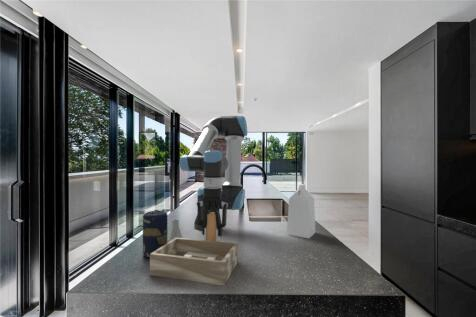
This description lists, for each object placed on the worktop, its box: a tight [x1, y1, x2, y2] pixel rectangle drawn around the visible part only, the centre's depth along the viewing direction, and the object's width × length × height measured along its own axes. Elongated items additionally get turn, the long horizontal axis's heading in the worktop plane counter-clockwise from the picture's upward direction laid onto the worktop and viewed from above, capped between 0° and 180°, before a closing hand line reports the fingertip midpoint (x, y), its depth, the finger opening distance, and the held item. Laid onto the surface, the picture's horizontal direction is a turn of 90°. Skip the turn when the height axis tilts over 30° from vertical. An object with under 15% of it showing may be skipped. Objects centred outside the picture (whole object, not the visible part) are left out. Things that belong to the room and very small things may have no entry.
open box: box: [149, 237, 239, 286], centre depth 89 cm, size 18×26×7 cm
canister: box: [142, 209, 168, 258], centre depth 101 cm, size 10×10×18 cm
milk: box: [286, 183, 316, 239], centre depth 132 cm, size 12×12×26 cm
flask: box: [167, 218, 184, 243], centre depth 117 cm, size 7×7×10 cm
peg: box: [207, 213, 218, 241], centre depth 104 cm, size 4×4×16 cm
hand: (211, 243), depth 104 cm, fingers closed on peg, 4 cm apart
